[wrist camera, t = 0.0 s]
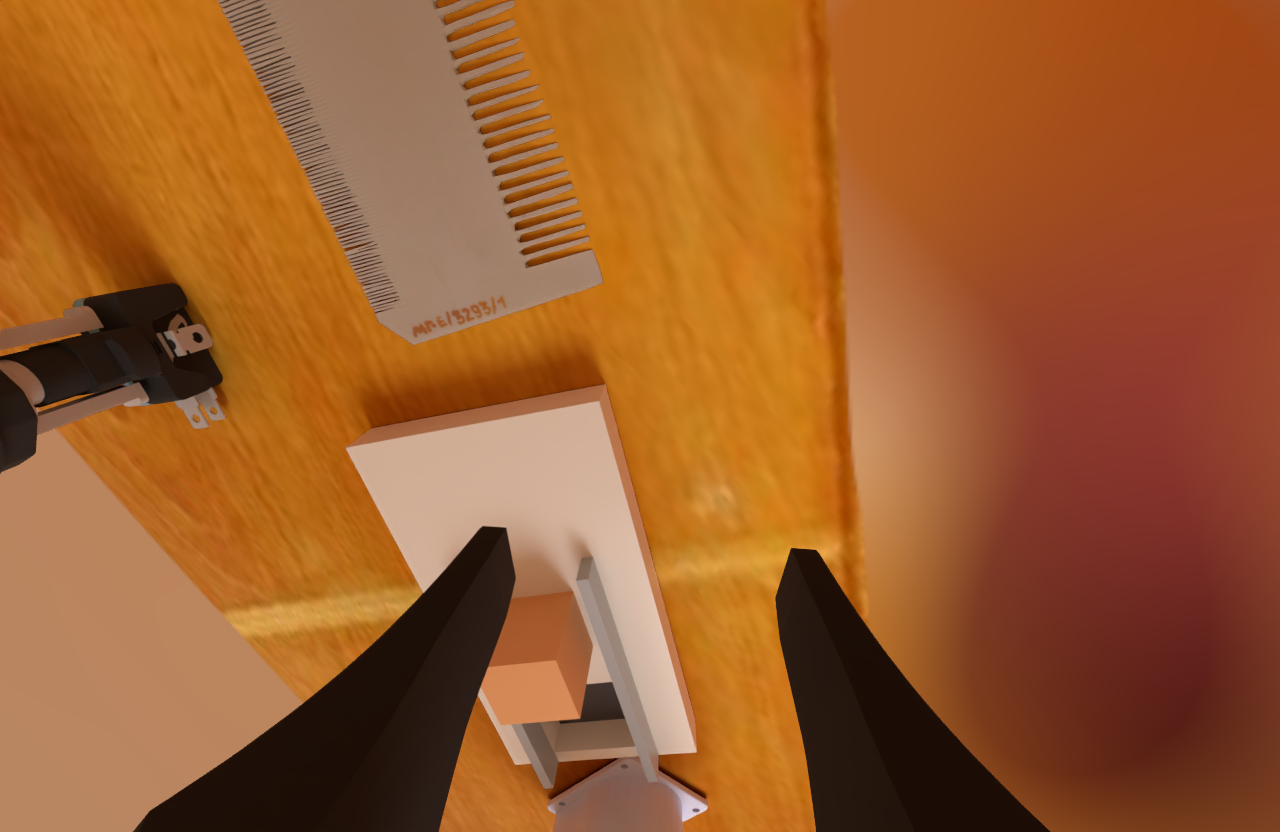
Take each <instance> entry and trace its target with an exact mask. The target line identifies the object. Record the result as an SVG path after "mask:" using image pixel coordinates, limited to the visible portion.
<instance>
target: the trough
mask: <svg viewBox="0 0 1280 832" xmlns="http://www.w3.org/2000/svg"><path fill="white" fill-rule="evenodd" d="M346 450H347V452H348V454H349V456H350V457H351V459H352V461H353V463H354V465H355V467H356V469H357V470H358V472H359V474H360V476H361V478H362V480H363V482H364V484H365V485H366V487H367V489H368V491H369V493H370V495H371V497H372V498H373V500H374V502H375V504H376V506H377V508H378V510H379V512H380V513H381V515H382V517H383V519H384V521H385V523H386V525H387V526H388V528H389V530H390V532H391V534H392V536H393V538H394V540H395V541H396V543H397V545H398V547H399V549H400V551H401V553H402V554H403V556H404V558H405V560H406V562H407V564H408V566H409V568H410V569H411V571H412V573H413V575H414V577H415V579H416V581H417V582H418V584H419V586H420V588H421V590H422V592H423V593H424V592H425V591H426V590H427V589H428V588H429V586H430V585H431V584H432V583H433V582H434V581H435V580H436V579H437V578H438V577H439V576H440V574H441V573H442V572H443V571H444V570H445V569H446V568H447V566H448V565H449V564H450V563H451V562H452V561H453V560H454V558H455V557H456V556H457V555H458V554H459V553H460V551H461V550H462V549H463V548H464V547H465V545H466V544H467V543H468V542H469V541H470V539H471V538H472V537H473V536H474V535H475V533H476V532H477V531H478V530H479V529H480V528H481V527H482V526H492V527H505V528H507V534H508V539H509V544H510V549H511V555H512V560H513V565H514V570H515V576H516V581H515V585H514V589H513V593H512V597H511V599H514V598H522V597H530V596H538V595H546V594H554V593H562V592H570V591H573V592H574V595H575V597H576V600H577V603H578V606H579V608H580V611H581V614H582V616H583V619H584V622H585V625H586V627H587V630H588V633H589V636H590V638H591V641H592V644H593V650H592V655H591V661H590V666H589V672H588V678H587V683H586V689H585V695H584V700H583V706H582V712H581V717H580V719H571V720H559V721H547V722H535V723H523V724H511V725H501V724H500V723H499V721H498V719H497V717H496V715H495V713H494V711H493V709H492V707H491V705H490V704H489V702H488V700H487V698H486V696H485V694H484V692H483V690H482V688H481V687H480V690H479V693H478V696H479V698H480V700H481V702H482V704H483V706H484V708H485V709H486V711H487V713H488V715H489V717H490V719H491V721H492V722H493V724H494V726H495V728H496V730H497V732H498V734H499V736H500V737H501V739H502V741H503V743H504V745H505V747H506V749H507V750H508V752H509V754H510V756H511V758H512V760H513V762H514V764H515V765H521V764H532V766H533V768H534V770H535V772H536V774H537V776H538V778H539V780H540V782H541V784H542V786H543V788H544V789H549V788H553V787H554V782H555V777H556V772H557V767H558V763H559V762H564V761H579V760H593V759H607V758H622V757H636V756H639V758H640V761H641V764H642V767H643V769H644V772H645V775H646V778H647V780H648V782H658V761H659V755H665V754H679V753H694V752H697V749H696V727H695V717H694V714H693V710H692V706H691V702H690V699H689V695H688V691H687V687H686V684H685V680H684V676H683V672H682V669H681V665H680V661H679V657H678V654H677V650H676V646H675V643H674V639H673V635H672V631H671V628H670V624H669V620H668V616H667V613H666V609H665V605H664V601H663V598H662V594H661V590H660V587H659V583H658V579H657V575H656V572H655V568H654V564H653V560H652V557H651V553H650V549H649V545H648V542H647V538H646V534H645V530H644V527H643V523H642V519H641V516H640V512H639V508H638V504H637V501H636V497H635V493H634V489H633V486H632V482H631V478H630V474H629V471H628V467H627V463H626V459H625V456H624V452H623V448H622V445H621V441H620V437H619V433H618V430H617V426H616V422H615V418H614V415H613V411H612V407H611V403H610V400H609V396H608V392H607V388H606V385H605V384H603V385H598V386H592V387H587V388H582V389H577V390H571V391H566V392H561V393H556V394H550V395H545V396H540V397H534V398H529V399H524V400H519V401H513V402H508V403H503V404H498V405H492V406H487V407H482V408H476V409H471V410H466V411H461V412H455V413H450V414H445V415H440V416H434V417H429V418H424V419H418V420H413V421H408V422H403V423H397V424H392V425H387V426H382V427H376V428H371V429H370V430H368V431H367V432H366V433H364V434H363V435H362V436H360V437H359V438H358V439H356V440H355V441H354V442H352V443H351V444H350V445H348V446H347V447H346Z"/></svg>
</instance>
